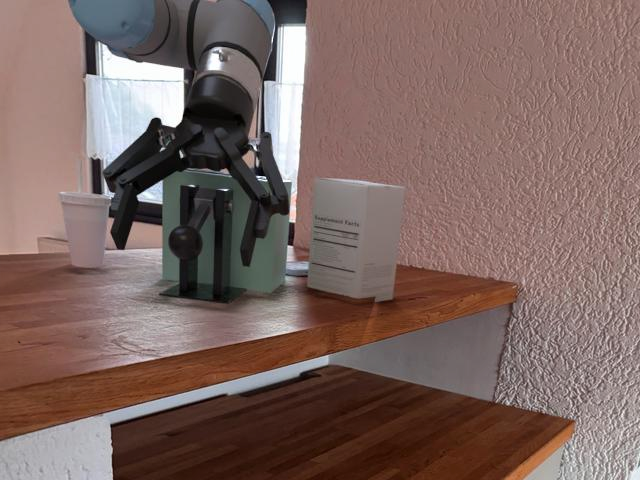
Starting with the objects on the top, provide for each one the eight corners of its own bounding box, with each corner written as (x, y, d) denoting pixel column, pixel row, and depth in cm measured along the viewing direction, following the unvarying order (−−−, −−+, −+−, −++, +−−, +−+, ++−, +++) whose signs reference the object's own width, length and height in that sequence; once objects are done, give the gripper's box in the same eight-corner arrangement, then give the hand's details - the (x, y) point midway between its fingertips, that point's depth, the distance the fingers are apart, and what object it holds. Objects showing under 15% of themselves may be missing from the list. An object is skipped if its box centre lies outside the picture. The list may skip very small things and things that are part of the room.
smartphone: (348, 268, 123) (295, 270, 110) (347, 274, 123) (294, 278, 111) (312, 260, 126) (257, 262, 114) (311, 267, 126) (256, 269, 114)
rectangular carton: (342, 289, 107) (353, 179, 101) (394, 300, 102) (408, 186, 96) (303, 293, 100) (312, 175, 94) (356, 306, 95) (369, 183, 89)
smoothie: (68, 266, 99) (63, 154, 93) (117, 271, 100) (115, 160, 94) (56, 274, 93) (49, 154, 87) (108, 279, 94) (105, 161, 88)
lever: (199, 268, 77) (196, 237, 75) (165, 264, 77) (161, 233, 75) (226, 215, 86) (224, 185, 83) (196, 211, 86) (193, 181, 83)
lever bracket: (227, 312, 83) (232, 192, 78) (158, 303, 83) (158, 183, 78) (246, 298, 92) (251, 190, 87) (184, 290, 92) (185, 182, 87)
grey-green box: (271, 300, 93) (278, 181, 87) (160, 286, 93) (161, 166, 87) (285, 287, 103) (293, 179, 97) (186, 275, 103) (188, 166, 98)
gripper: (107, 59, 81) (51, 209, 73) (328, 87, 81) (296, 241, 73) (125, 115, 88) (76, 257, 80) (329, 141, 88) (299, 287, 80)
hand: (180, 250), depth 77 cm, fingers open, 13 cm apart
